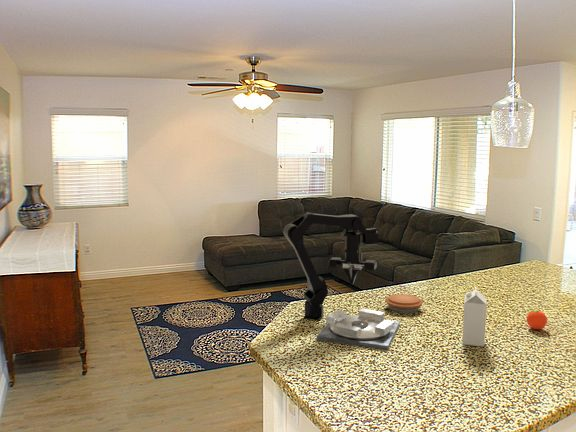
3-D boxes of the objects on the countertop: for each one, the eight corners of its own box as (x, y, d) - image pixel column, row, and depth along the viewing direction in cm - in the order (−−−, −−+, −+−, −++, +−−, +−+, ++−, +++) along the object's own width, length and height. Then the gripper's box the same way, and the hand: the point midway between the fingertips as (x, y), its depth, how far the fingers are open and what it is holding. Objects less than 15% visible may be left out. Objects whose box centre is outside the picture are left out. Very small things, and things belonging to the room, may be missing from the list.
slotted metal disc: (375, 345, 176) (375, 335, 175) (316, 331, 188) (316, 321, 188) (401, 325, 194) (402, 315, 194) (346, 313, 207) (346, 305, 207)
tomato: (520, 328, 196) (521, 309, 195) (526, 323, 201) (527, 305, 200) (542, 333, 190) (544, 314, 189) (549, 328, 195) (550, 310, 194)
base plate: (316, 340, 184) (316, 335, 184) (335, 317, 208) (335, 313, 207) (387, 350, 176) (387, 345, 175) (399, 325, 199) (399, 321, 198)
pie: (431, 310, 216) (431, 298, 215) (404, 317, 208) (404, 305, 207) (403, 301, 229) (403, 290, 228) (377, 307, 220) (377, 296, 219)
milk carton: (483, 339, 185) (486, 287, 182) (484, 347, 178) (487, 293, 175) (462, 337, 187) (465, 285, 184) (462, 344, 180) (464, 291, 177)
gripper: (380, 244, 213) (379, 281, 215) (335, 241, 219) (335, 277, 222) (374, 249, 203) (373, 288, 205) (327, 246, 209) (327, 284, 211)
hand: (352, 284), depth 211 cm, fingers closed
